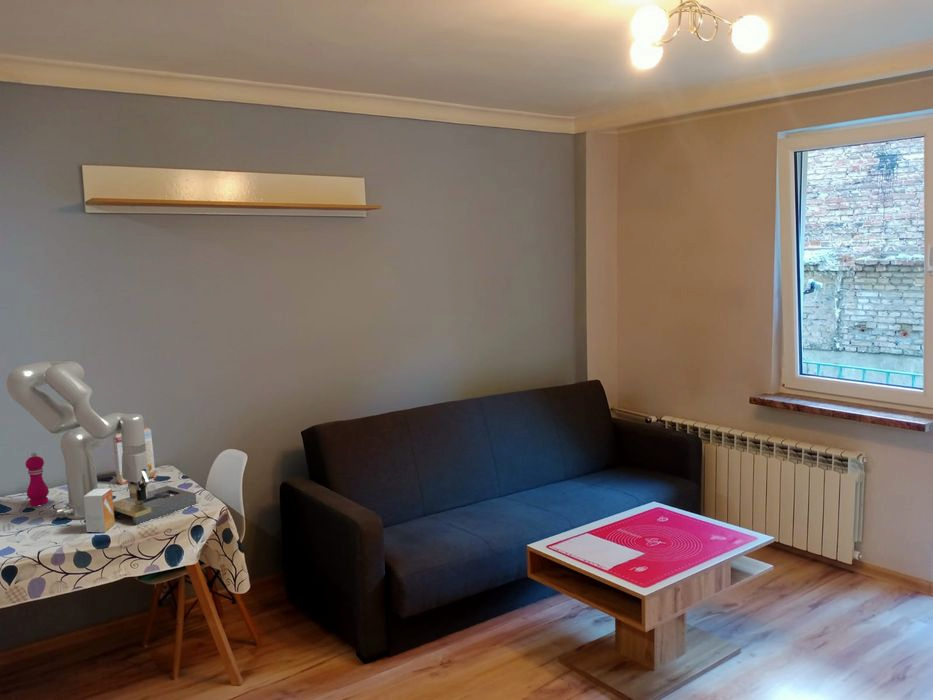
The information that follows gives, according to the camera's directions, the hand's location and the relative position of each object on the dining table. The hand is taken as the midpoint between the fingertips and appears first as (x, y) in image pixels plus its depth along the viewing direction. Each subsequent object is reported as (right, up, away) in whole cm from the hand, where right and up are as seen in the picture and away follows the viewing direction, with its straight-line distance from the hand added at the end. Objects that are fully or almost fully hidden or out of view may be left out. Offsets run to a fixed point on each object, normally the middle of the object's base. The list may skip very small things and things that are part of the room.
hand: (138, 498), depth 264 cm
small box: (-7, -8, -12) cm, 16 cm away
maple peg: (0, -6, +1) cm, 6 cm away
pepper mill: (-45, -5, +15) cm, 47 cm away
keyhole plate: (+3, -6, +5) cm, 8 cm away
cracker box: (-20, -1, +43) cm, 47 cm away
